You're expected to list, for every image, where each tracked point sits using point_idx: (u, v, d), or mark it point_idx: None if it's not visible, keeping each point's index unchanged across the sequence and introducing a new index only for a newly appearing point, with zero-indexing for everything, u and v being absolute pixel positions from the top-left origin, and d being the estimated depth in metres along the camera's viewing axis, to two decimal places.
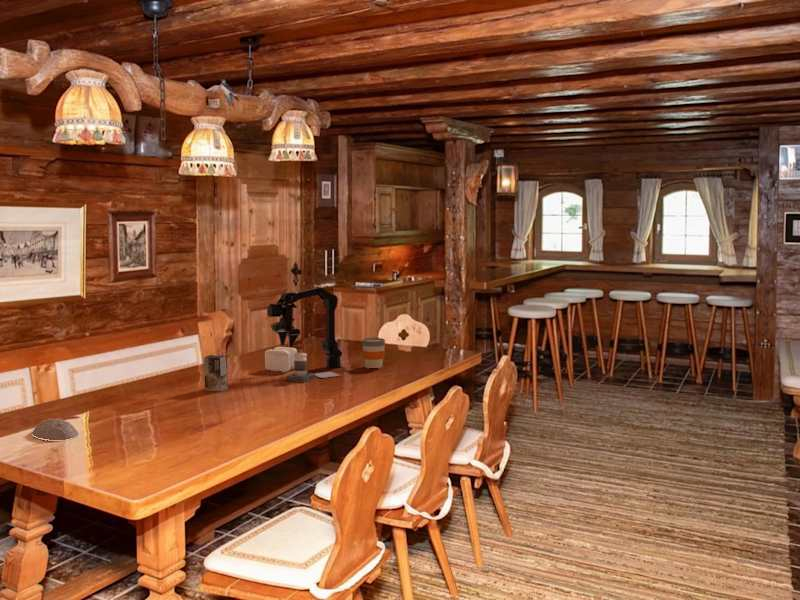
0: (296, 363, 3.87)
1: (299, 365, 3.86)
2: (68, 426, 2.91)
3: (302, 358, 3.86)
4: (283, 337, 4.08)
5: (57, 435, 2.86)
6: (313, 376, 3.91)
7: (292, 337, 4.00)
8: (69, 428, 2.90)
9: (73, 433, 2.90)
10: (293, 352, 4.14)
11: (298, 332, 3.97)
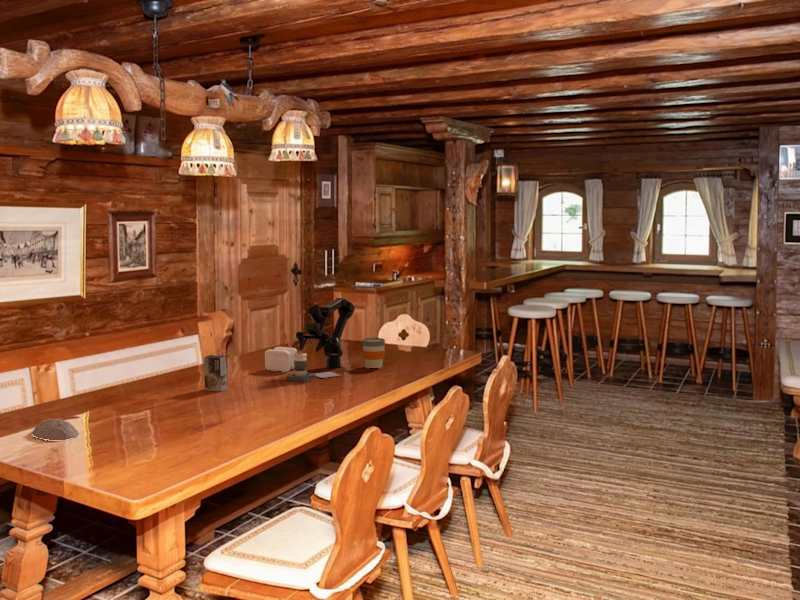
0: (296, 363, 3.87)
1: (299, 365, 3.86)
2: (68, 426, 2.91)
3: (302, 358, 3.86)
4: (303, 344, 4.00)
5: (58, 435, 2.86)
6: (313, 376, 3.91)
7: (321, 343, 3.97)
8: (69, 428, 2.90)
9: (73, 433, 2.90)
10: (293, 352, 4.14)
11: (330, 340, 3.98)
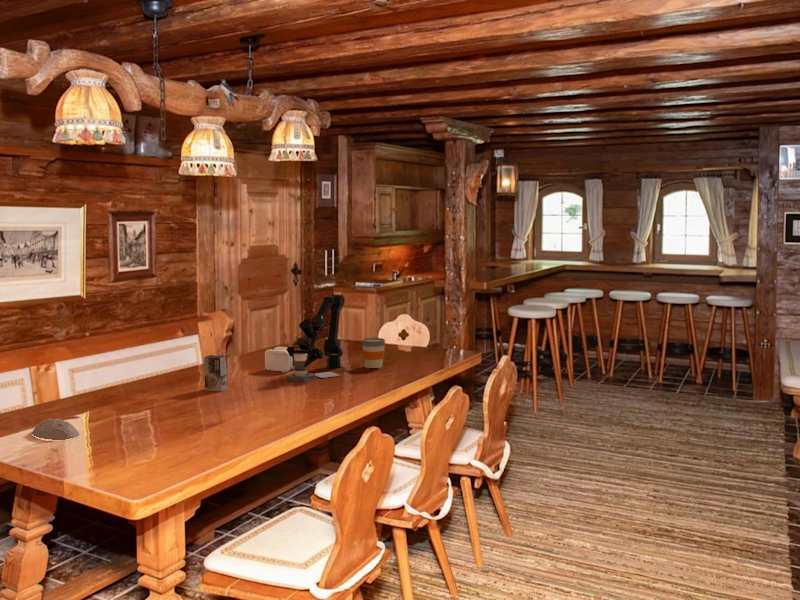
0: (296, 363, 3.87)
1: (299, 365, 3.86)
2: (69, 426, 2.91)
3: (302, 358, 3.86)
4: None
5: (59, 435, 2.86)
6: (313, 376, 3.91)
7: (311, 358, 3.90)
8: (70, 428, 2.91)
9: (74, 433, 2.90)
10: None
11: (322, 355, 3.91)
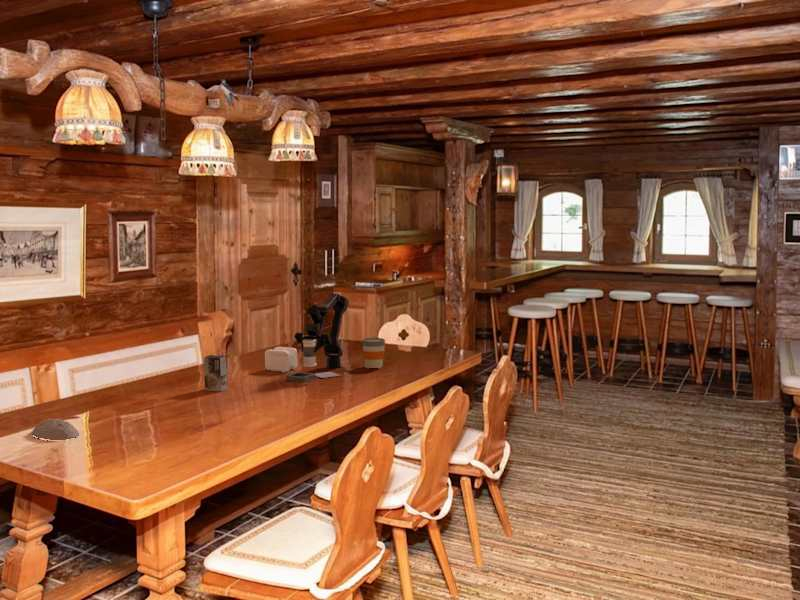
0: (306, 349, 3.88)
1: (309, 351, 3.88)
2: (69, 426, 2.91)
3: (312, 344, 3.89)
4: None
5: (59, 435, 2.86)
6: (313, 376, 3.91)
7: (319, 343, 3.92)
8: (70, 428, 2.91)
9: (74, 433, 2.90)
10: (293, 352, 4.14)
11: (331, 341, 3.94)
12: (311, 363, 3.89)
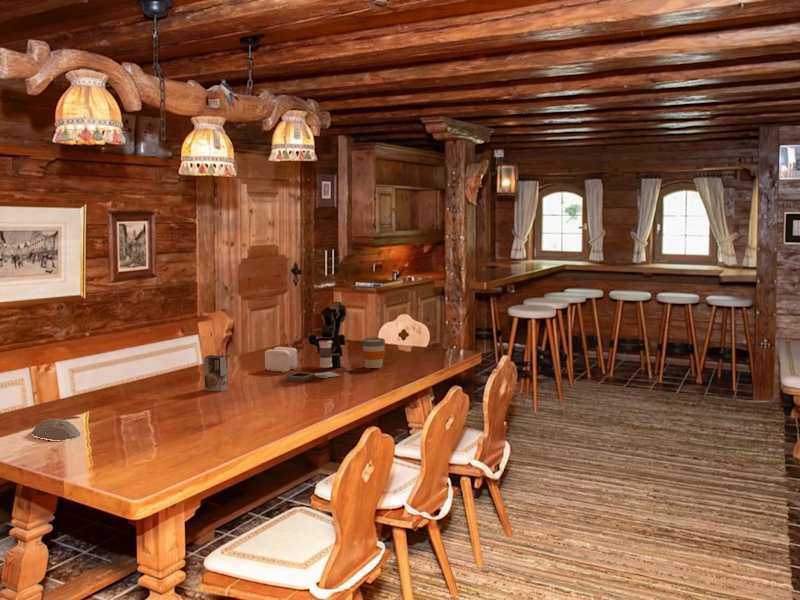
0: (323, 350, 3.95)
1: (326, 352, 3.95)
2: (70, 425, 2.92)
3: (329, 345, 3.96)
4: None
5: (61, 435, 2.87)
6: (313, 376, 3.91)
7: None
8: (72, 427, 2.91)
9: (76, 432, 2.91)
10: (293, 352, 4.14)
11: (345, 342, 4.03)
12: (328, 364, 3.97)
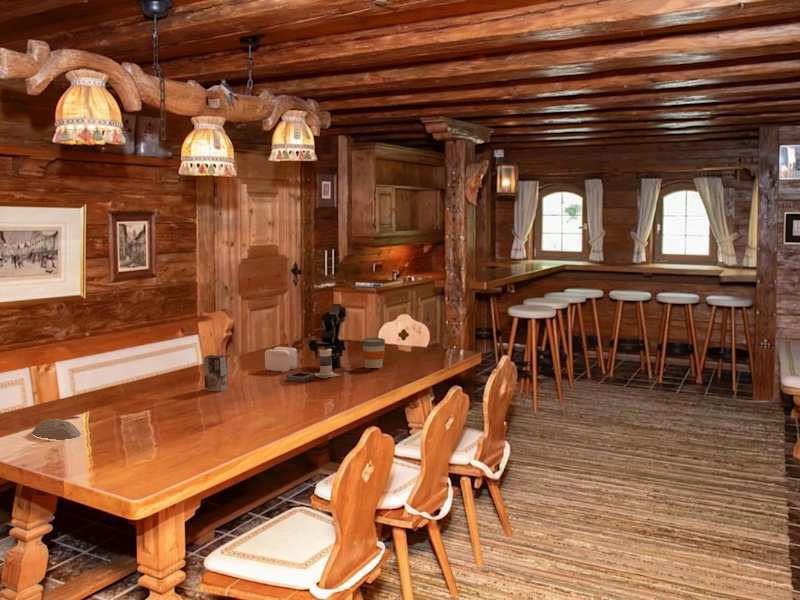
0: (323, 358, 3.95)
1: (326, 360, 3.96)
2: (71, 426, 2.92)
3: (329, 353, 3.96)
4: (317, 352, 4.01)
5: (62, 435, 2.87)
6: (313, 376, 3.91)
7: (337, 350, 4.00)
8: (72, 427, 2.91)
9: (77, 432, 2.91)
10: (293, 352, 4.14)
11: (345, 347, 4.03)
12: (328, 372, 3.97)
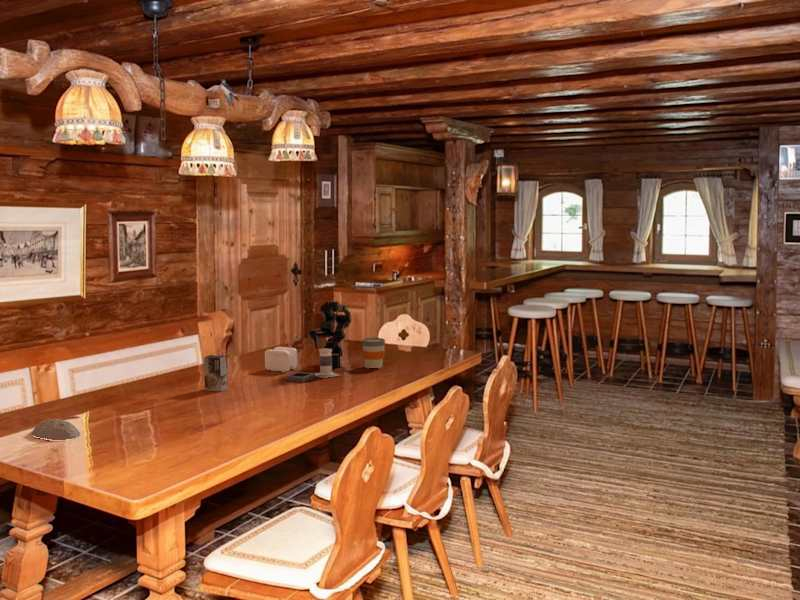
0: (323, 358, 3.96)
1: (326, 360, 3.96)
2: (70, 426, 2.92)
3: (329, 353, 3.96)
4: (317, 342, 4.08)
5: (61, 435, 2.87)
6: (313, 376, 3.91)
7: (336, 339, 4.06)
8: (72, 428, 2.91)
9: (76, 432, 2.91)
10: (293, 352, 4.14)
11: (344, 336, 4.07)
12: (328, 372, 3.97)
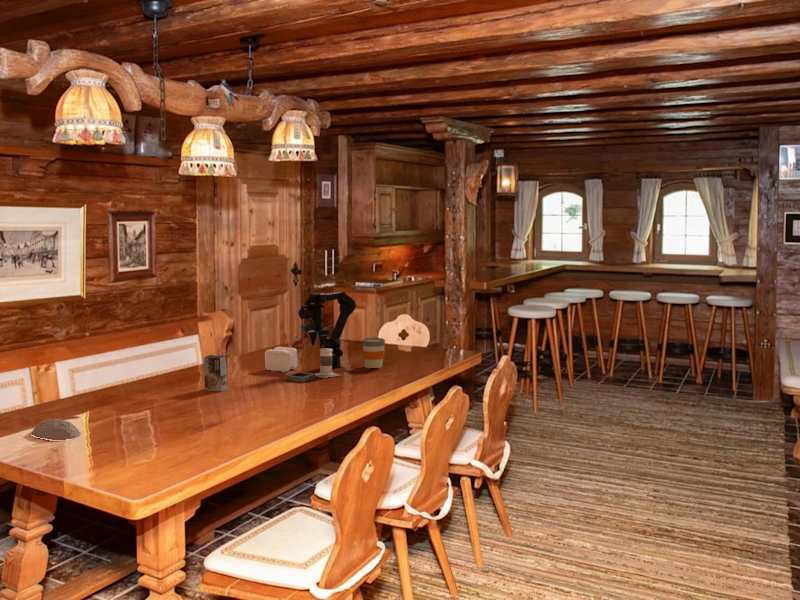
0: (324, 358, 3.96)
1: (327, 360, 3.96)
2: (71, 425, 2.92)
3: (329, 353, 3.96)
4: (313, 337, 4.15)
5: (61, 435, 2.87)
6: (313, 376, 3.91)
7: (322, 337, 4.06)
8: (72, 427, 2.91)
9: (76, 432, 2.91)
10: (293, 352, 4.14)
11: (327, 332, 4.03)
12: (329, 372, 3.97)
